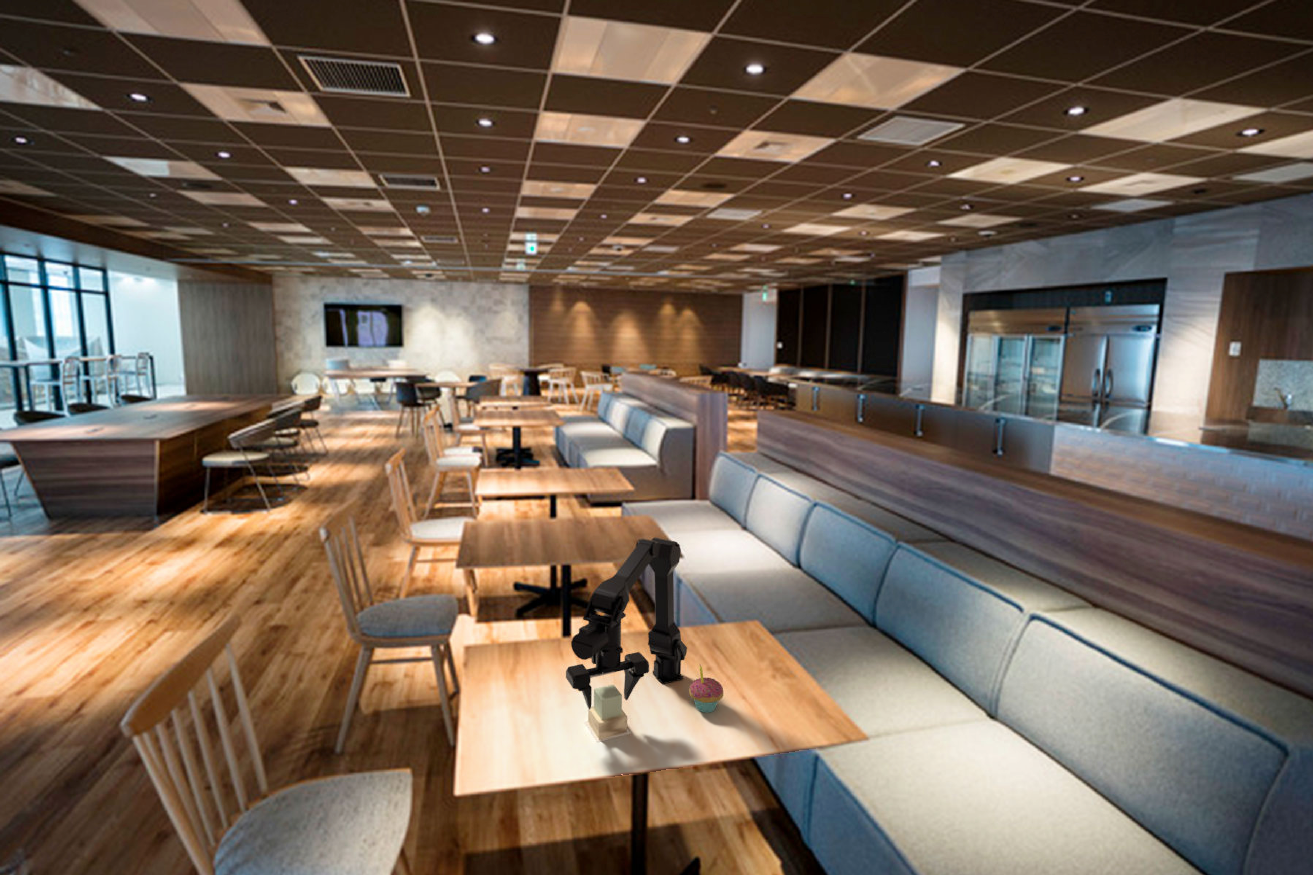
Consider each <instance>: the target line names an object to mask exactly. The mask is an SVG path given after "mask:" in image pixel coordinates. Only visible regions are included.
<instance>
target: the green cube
mask: <svg viewBox="0 0 1313 875" xmlns="http://www.w3.org/2000/svg"><path fill="white" fill-rule="evenodd" d="M593 706H594V710H595V711H596V713H597V714H598V716H599V717H600V719H601V720H604V719H608V718H612V717H616V716H620V715H622V710H623V695H622V693H621V692H620V691H619V689H618V688H617V687H616V685H615V684H611V685H606V686H602V687H598V688H597V687H596V688H594V689H593Z"/></svg>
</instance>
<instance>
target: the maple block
mask: <svg viewBox="0 0 1313 875" xmlns="http://www.w3.org/2000/svg"><path fill="white" fill-rule="evenodd" d="M587 708H588V707H587ZM587 712H588V714H587V717H588V718H587V719H588V720H587V721H588V724H589V725H590V727H591V728H592V730H593V731H594V733H595V734H596V736H597V738H598V739H603V738H607V737H611V736H614V735H618V734H622V733H626V732H627V728H628V715H627V714H626V712H625V711H624V710H623V709H622V715H620V716H616V717H612V718H608V719H604V720H601V719H600V717H599V716H598V714H597V713H596V711H595V710H594V705H593V706H591V709H589V708H588V710H587Z"/></svg>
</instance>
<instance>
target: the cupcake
mask: <svg viewBox="0 0 1313 875" xmlns="http://www.w3.org/2000/svg"><path fill="white" fill-rule="evenodd" d="M699 676H700V678H697V679H694V681H692V682H691V683H690V685H689V689H688V692H689V696H690V697H691V698H693V701H694V704H695V707H696V709H697V710H698V711H699V712H702V713H711V712H714V711H715V710H716V707H717V704H718V702H719V701H720V700H721V699H723V698H724V687H723V685H722V684H721V683H720V682H719V681H718V680H716V679H715V678H711V677H704V671H703V666H702V665H701V664H699Z"/></svg>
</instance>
